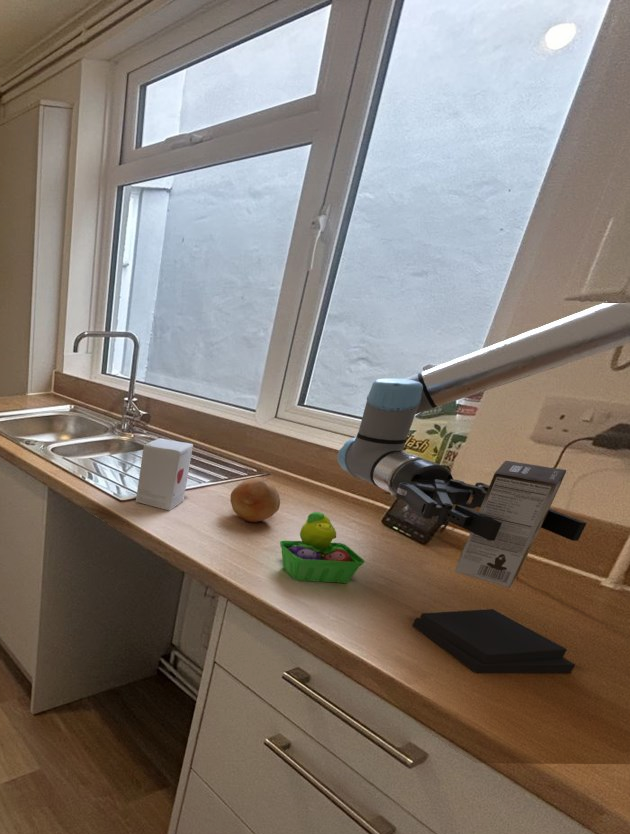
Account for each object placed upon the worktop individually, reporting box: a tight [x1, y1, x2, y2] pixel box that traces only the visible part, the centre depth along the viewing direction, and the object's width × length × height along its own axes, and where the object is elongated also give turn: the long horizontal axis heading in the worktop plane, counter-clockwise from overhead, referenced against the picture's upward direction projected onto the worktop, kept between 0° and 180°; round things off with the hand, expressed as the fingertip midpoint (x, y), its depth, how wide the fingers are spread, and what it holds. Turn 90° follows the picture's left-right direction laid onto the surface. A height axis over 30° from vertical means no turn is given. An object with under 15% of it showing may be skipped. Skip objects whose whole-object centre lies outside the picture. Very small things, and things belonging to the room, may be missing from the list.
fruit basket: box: [279, 511, 366, 584], centre depth 96 cm, size 11×9×11 cm
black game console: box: [412, 608, 576, 674], centre depth 77 cm, size 13×11×3 cm
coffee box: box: [454, 460, 567, 588], centre depth 77 cm, size 9×6×16 cm
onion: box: [229, 476, 281, 523], centre depth 119 cm, size 10×10×10 cm
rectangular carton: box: [135, 437, 194, 512], centre depth 129 cm, size 9×9×15 cm
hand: (537, 531), depth 73 cm, fingers closed on coffee box, 11 cm apart
